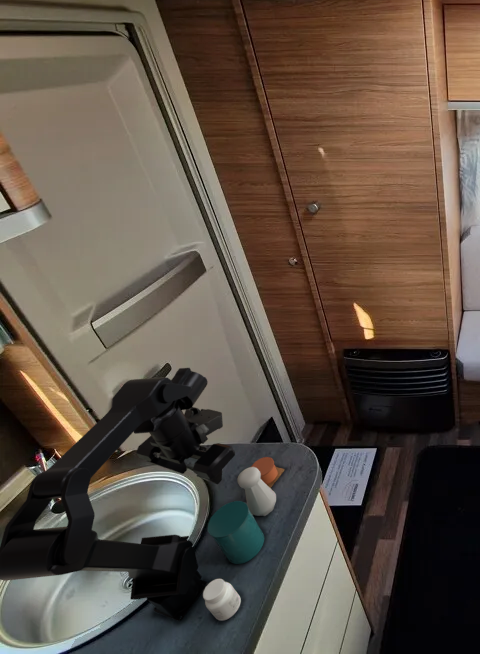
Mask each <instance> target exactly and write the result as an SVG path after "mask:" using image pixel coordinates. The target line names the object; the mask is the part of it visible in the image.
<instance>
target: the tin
mask: <svg viewBox="0 0 480 654" xmlns="http://www.w3.org/2000/svg"><path fill="white" fill-rule="evenodd" d="M207 532H208V534H209V536H210V537H212V538H213V540H214V541H215V543H216V544H217V546H218V547H219V548H220V549H221V551H222V552H223V555H225V557H226V559H228V561H229V562H230V563H232V564H234V565H241V564H245V563H247V562H249V561H251V560H252V559H253V558H255V557H256V556H257V555H258V554H259V552H260V551H261V550H262V548H263V545H264V543H265V535H264V533H263V531H262V529H261V527H260V526H259V524H258V522H257V521H256V518H255V517H254V515H252V514H251V512H250V510H249V508H248V506H247V502H244V501H242V500H234V501H231V502H227V503H226V504H224V505H222V506H220V507H219V508H218V509H217V510H216V511H214V513H213V514H212V516H211V517H210V518H209V521H208V523H207Z"/></svg>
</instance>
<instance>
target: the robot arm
mask: <svg viewBox="0 0 480 654" xmlns="http://www.w3.org/2000/svg"><path fill="white" fill-rule="evenodd" d="M208 383H209V381H208V379H207V377H206V376H204V375H202V374H201V373H199V372H196V371H193V370H191V368H190V367H180V368H178V369H177V371H176V372H175V374H174V376H173V377H172V378H171V379H170V378H169V377H166V376H165V377H164V376H162V377H147V378H134V379H129V380H127V381H126V382H124V383H123V385H122V386H121V387H120V388H119V389H118V391H117V392H116V393H115V394H114V395H113V397H112V398H111V405H110V409H109V410H108V411H107V412H106V414H105V415H103V417H102V418H100V419H99V420H98V421H97V422H96V423H95V424H94V425H93V426H92V427H91V428H90V429H89V430H88V431H87V432H85V434H83V436H82V437H81V438H79V439H78V440H77V441H76V442H75V443H74V444H73V445H72V446H71V447H70V448H68V449H67V451H65V453H64V454H62V455H61V457H60V458H58V459H57V460H56V461H55V462H54V463H53V464H52V465H51V466H49V468H47V469H46V470H45V471H42V472H39V473H38V474H37V475H36V476H35V477H34V478H33V479H32V480H31V483H30V485H29V488H28V492H27V496H26V499H25V501H24V502H23V503H22V504H21V506H20V507H19V508H18V509H17V511H16V512H15V513H14V514H13V516H12V518H11V519H10V520H9V521H8V522H7V524H6V525H5V527H4V531H3V534H2V538H1V541H0V581H3V582H7V581H16V580H27V579H34V578H35V579H37V578H44V577H55V576H63V575H68V574H72V573H76V572H114V573H115V572H117V573H118V572H119V573H123V572H124V573H127V574H128V577H129V578H131V579H132V581H131V582H132V583H131V590H130V600H133V601H138V600H141V599H142V600H143V599H146V600H147V602H149V603H150V604H151V605H152V606H153V607H154V608H153V611H154V613H156V614H159V615H161V616H164V617H166V618H169V619H172V620H174V621H177V622H181V621H182V620H184V618H185V617H186V616H187V614H188V613H189V611H190V610H191V609H192V607H193V606H194V605H195V603H196V602H197V601H198V600H199V598H200V597H201V596H202V595H203V592H204V589H205V588H206V586H207V585H208V584H209V583H208V581H205V580H203V576H202V575H201V574H200V572H199V571H198V569H199V564H198V559H197V555H196V549H195V547H194V546H193V545H194V543H193V542H192V541H191V540H189V538H190V535H182V536H181V535H179V534H166V535H156V536H146V537H141V540H140V543H139V542H138V543H137V542H129V541H120V540H119V541H118V540H112V539H111V540H110V539H101V538H99V535H98V531H95V530H94V529H93V526H94V520H95V510H94V508H93V505H92V502H91V500H90V499H91V498H90V495H89V494H88V492H89V489H90V488H89V487H90V482H91V479H92V477H94V476H95V474H96V473H97V472H98V471H99V470H100V469H101V468H102V467H103V466H104V464H106V462H107V461H108V460H109V459H110V458H111V457H112V456H113V455H114V453H116V452H117V450H118V449H119V448H120V447H121V446H122V445H123V444H124V443H125V442H126V441H127V439H128V438H130V436H131V435H132V434H134V435H136V434H137V435H138V434H149V437H147V438H146V439H145V440H144V441H143V442H142V443H141V444H139V445H138V446H137V449H136V452H135V454H136V455H137V457H138V458H139V459H140V460H144V461H145V462H147V463H149V464H153V465H156V466H159V467H162V468H164V469H168V470H169V471H173V472H176V473H178V474H182V475H184V474H185V473H186V472H187V471H188V468H187V465H186V462H185V461H186V460H188V459H193V460H196V461H195V462H194V464H193V468H192V471H193V473H194V474H196V477H197V478H199V479H202V480H205V481H207V482H209V483H213V484H216V485H219V484H220V483H221V482H222V481H223V469H224V468H225V467H226V466H227V465H228V464H229V463H230V461H231V460H232V459H233V458H234V457H235V456H236V452H235V450H234V447H233V446H231V445H227V444H224V443H220V442H219V443H218V442H216V443H213V444H212V445H211V446H210V447H205V446H202V445H203V444H205V443H206V442H207V441H208V440H209V438H208V436H209V435H210V434H211V435H212V433H214V432H216V431H217V430H221V429H222V428H223V426H224V423H223V412H221V411H218V410H214V409H209V408H206V409H205V408H201V409H200V408H199V407H194V405H195V403H196V402H197V401H198V399H199V398H200V396H201V395H202V393H203V392H204V391H205V389H206V388H207V386H208ZM183 411H185V412H183ZM55 499H60V501H61V504H62V508H63V510H64V512H65V516H66V518H67V526H57V527H46V528H36V529H35V525H36V522H37V520H38V519H39V518H40V517H41V515H42V514H43V512H45V510H46V508H47V507H48V506H49V505H50V504H51V502H52V501H53V500H55Z"/></svg>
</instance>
